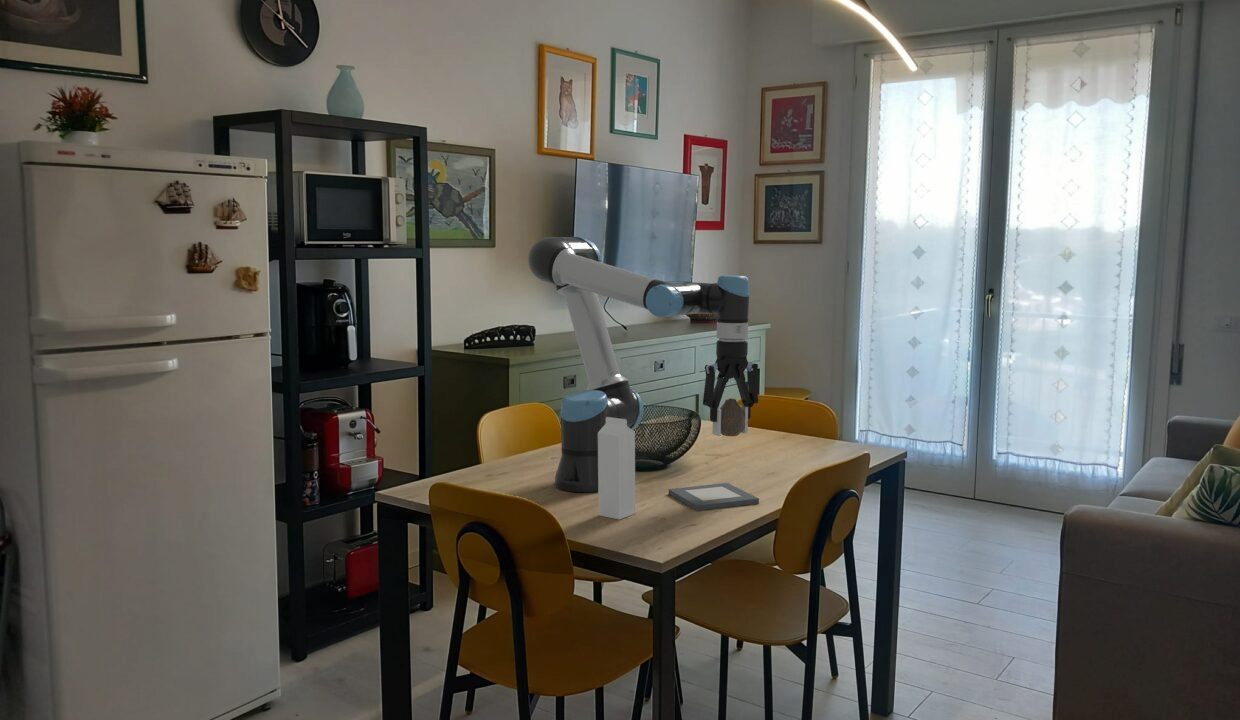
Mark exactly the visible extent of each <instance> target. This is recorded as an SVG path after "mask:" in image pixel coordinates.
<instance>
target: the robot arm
mask: <svg viewBox="0 0 1240 720" xmlns="http://www.w3.org/2000/svg"><path fill="white" fill-rule="evenodd" d="M527 260H528V267H529V269H530V271H531V274H533V276H535V277H536V278H537V279H538V280H540V281H543V282H546V283H550V284H553V285H555V287H556V291H557V293H558V294H559V295H561V296H562V297H564V299H565V302H566V306H567V309H568V312H569V316H570V319H571V323H572V328H573V331H574V334H575V338H576V341H577V345H578V349H579V352H580V356H581V359H582V363H583V366H584V369H585V373H586V378H587V382H588V385H587V388H586V389H585V390H581V391H579V390H578V391H574V392H571V393H569V394H567V395H565V396H563V398H562V399H561V401H560V402H561V403H560V411H559V414H560V415H559V416H560V430H561V431H560V434H561V435H560V436H561V437H560V438H561V441H560V443H561V445H560V446H561V455H560V458H559V459H560V460H559V463H558V466H557V470H556V471H555V476H554V486H555V488H556V489H559V490H560V491H565V492H576V493H593V492H598V432H599V431H600V430H601V428H602V427H603V426H604V425H605V424H606V417H612V418H619V419H626V420H627V427H629V428H630V429H632V430H633V431H634V429H636V428H637V427H638V426H639V424H640V423H641V421H642V419H643V415H644V403H643V400H642V397H641V396H640V395H639V393H638V392H636V391H635V390H634V389H632V388H631V386H630V383H629V380H628V378H626V377H625V376H623V375H621V372H620V369H619V366H618V362H617V357H616V355H615V352H614V348H613V343H612V340H611V337H610V334H609V330H608V327H607V326H608V325H607V322H606V319H605V315H604V312H603V308H602V304H601V302H600V299H599V295H601V296H605V297H607V298H611V299H613V300H616V301H619V302H623V303H626V304H628V305H633V306H636V307H639V308H642V309H644V310H647V311H649V313H650V314H651V315H652V316H653V317H658V318H665V319H666V318H667V319H669V318H673V317H679V316H686V315H687V316H688V315H694V314H695V315H696V314H704V315H705V314H707V315H716V338H717V339H718V340H717V341H716V342H715V343H716V348H715V349H716V350H715V351H716V352H715V353H716V360H715V362H714V363H713V364H705V366H704V370H705V371H704V372H705V381H704V390H703V391H704V392H703V398H702V405H703V406H705V407H708V408H709V410H710V411H709V420H710V422H712V435H715V436H717V437H721V436H722V434H721V409H720V408H719V407H720V404H721V400H722V397H723V395H724V391H725V389H726V386H727V383H728V382H729V380H731V379H734V380H735V383H736V386H737V389H738V393H739V396H740V400H741V402H742V403H741V404H742V405H739V406H740V408H741V409H742V411H743V413H744V417H745V424H744V428H743V430H742V432H741V433H740V434H743V435H744V434H748V431H749V430H748V429H749V427H748V425H749V424H748V423H749V420H750V419H751V411H752V409H751V408H753V407H754V405H755V404H758V403H759V395H758V393H759V392H758V377H757V375H758V374H757V372H758V368H759V364H758V363H754V362H749V361H748V358H747V356H748V352H749V350H748V349H749V348H748V347H749V343H748V341H747V339H748V338H749V307H750V295H751V294H750V284H749V283H750V282H749V278H748V277H747V276H745V275H727V274H726V275H722V274H721V275H719V276H718V278H717V282H713V283H711V282H696V281H695V282H692V281H682V282H681V281H680V282H677V283H669V282H666V281H663V280H660V279H656V278H653V277H651V276H647V275H644V274H641V273H637V272H633V271H632V270H631V271H630V270H627V269H624V268H621V267H618V266H615V265H614V266H613V265H610V264H607V263H603V262H602V255H601V252H600V250H599V248H598V247H597V245H596V244H595V243H594V242H593V241H591V240H589V239H588V238H584V237H579V236H546V237H544V238H541V239H539V240H537V241H536V242H535V243H534V244H533V245H532V246H531V248H530V250H529V253H528V257H527ZM745 370H746V375H747V376H745ZM717 371H718V374H717V377H716V373H717ZM746 377H747V382H746ZM715 381H716V382H715ZM715 383H716V384H715Z"/></svg>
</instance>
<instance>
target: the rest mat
mask: <svg viewBox="0 0 1240 720" xmlns="http://www.w3.org/2000/svg"><path fill="white" fill-rule="evenodd" d="M668 495H670V496H671V497H673V498H675V500H678V501H680V502H681V503H683V504H685V505H686V506H688V507H690V508H692V509H693V510H695V511H697V512H698V511H705V510H715V509H721V508H730V507H739V506H740V507H741V506H748V505H756V504H759V503H760V498H759V497H757V496H755V495H753V494H752V493H751V494H750V493H749V492H747V491H745V490H743V489H741V488H739V487H737V486H734V485H733V484H730V483H728V482H722V483H721V482H720V483H714V484H705V485H697V486H696V485H694V486H687V487H686V486H685V487H675V488H674V487H673V488H668Z"/></svg>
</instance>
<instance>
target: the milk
mask: <svg viewBox="0 0 1240 720" xmlns="http://www.w3.org/2000/svg"><path fill="white" fill-rule="evenodd" d="M635 434H636V431H635V430H634V429H633V430H632V429H630V428H629V427H627V420H626V419H619V418H612V417H606V424H605V425H604V426H603V427H602V428H601V430H600V431H599V432H598V491H597V493H598V494H597V495H598V497H597V498H598V501H597V502H598V516H601V517H605V518H609V519H615V520H618V521H620V520H622V519H625V518H628V517H631V516H633V515H635V514H636V435H635Z"/></svg>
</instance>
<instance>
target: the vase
mask: <svg viewBox="0 0 1240 720" xmlns="http://www.w3.org/2000/svg"><path fill="white" fill-rule="evenodd" d="M740 406H741V405H739V404H738V401H737V399H735V398H726V399H725V401H724V403H723V404H722V405H721V407H720V408H719V409H721V436H725V437H737V436H739V435H741V434H742V433H741V432H742V430H743V428H744V424H745V417H744V413H743V411H742V409H741V408H740Z"/></svg>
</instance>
